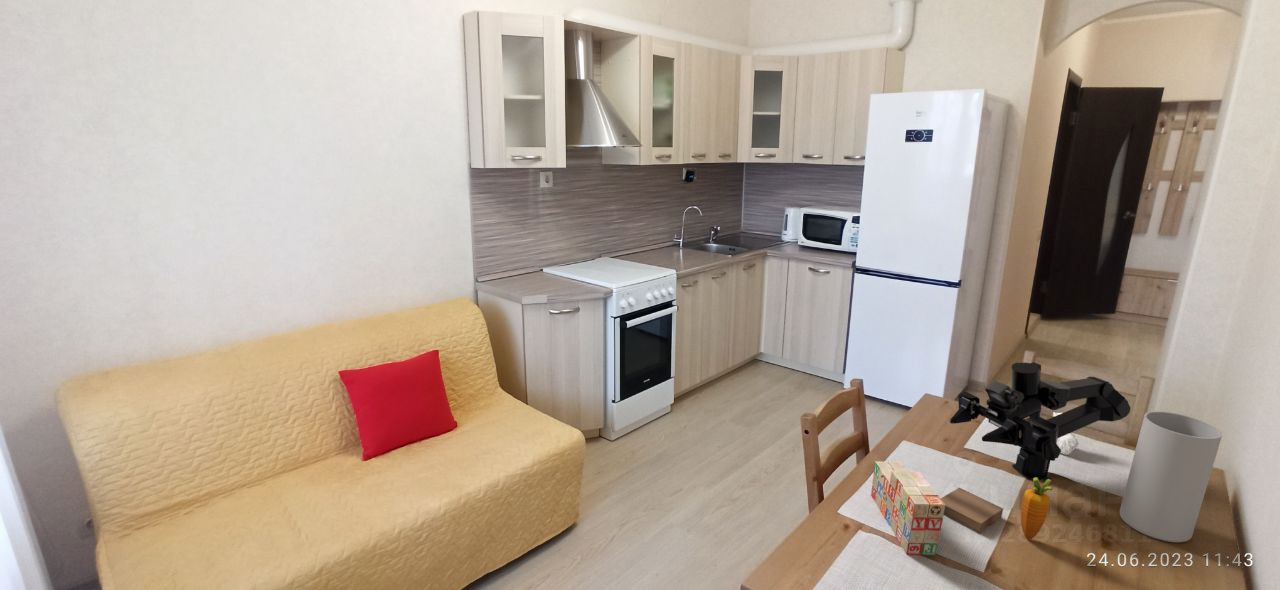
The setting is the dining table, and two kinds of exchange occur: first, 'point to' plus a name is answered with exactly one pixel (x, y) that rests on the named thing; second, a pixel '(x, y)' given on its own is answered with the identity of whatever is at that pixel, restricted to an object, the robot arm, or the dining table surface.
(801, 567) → the dining table surface
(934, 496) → the stack of blocks
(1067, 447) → the bust
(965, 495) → the walnut plinth
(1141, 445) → the cylinder vase
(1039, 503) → the carrot
